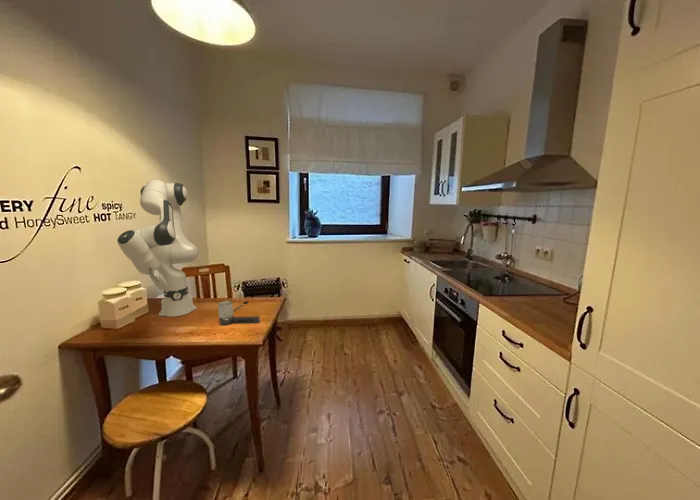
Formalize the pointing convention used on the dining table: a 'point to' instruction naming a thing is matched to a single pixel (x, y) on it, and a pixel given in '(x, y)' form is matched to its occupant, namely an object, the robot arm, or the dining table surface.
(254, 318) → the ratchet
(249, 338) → the dining table surface
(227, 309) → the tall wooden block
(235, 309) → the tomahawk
